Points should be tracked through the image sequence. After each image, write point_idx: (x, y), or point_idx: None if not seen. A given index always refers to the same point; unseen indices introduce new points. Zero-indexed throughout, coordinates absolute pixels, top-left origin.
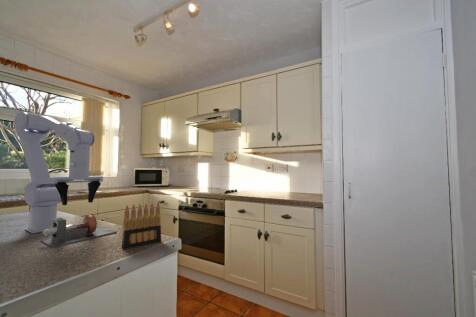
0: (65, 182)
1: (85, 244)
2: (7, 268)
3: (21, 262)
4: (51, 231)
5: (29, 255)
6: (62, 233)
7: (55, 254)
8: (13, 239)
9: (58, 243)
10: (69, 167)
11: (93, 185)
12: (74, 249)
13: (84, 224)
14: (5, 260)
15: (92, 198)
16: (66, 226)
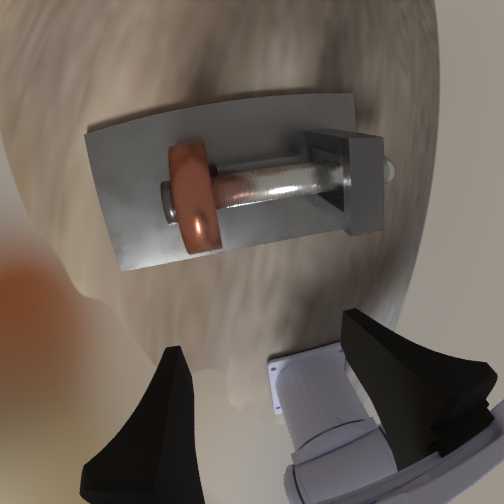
0: (449, 445)
1: (246, 38)
2: (433, 18)
3: (415, 29)
4: None
5: (401, 71)
6: (330, 131)
7: (348, 12)
8: (390, 303)
9: (330, 109)
10: None
11: (160, 467)
12: (293, 10)
13: (228, 178)
14: (438, 83)
15: (166, 365)
16: (317, 170)
